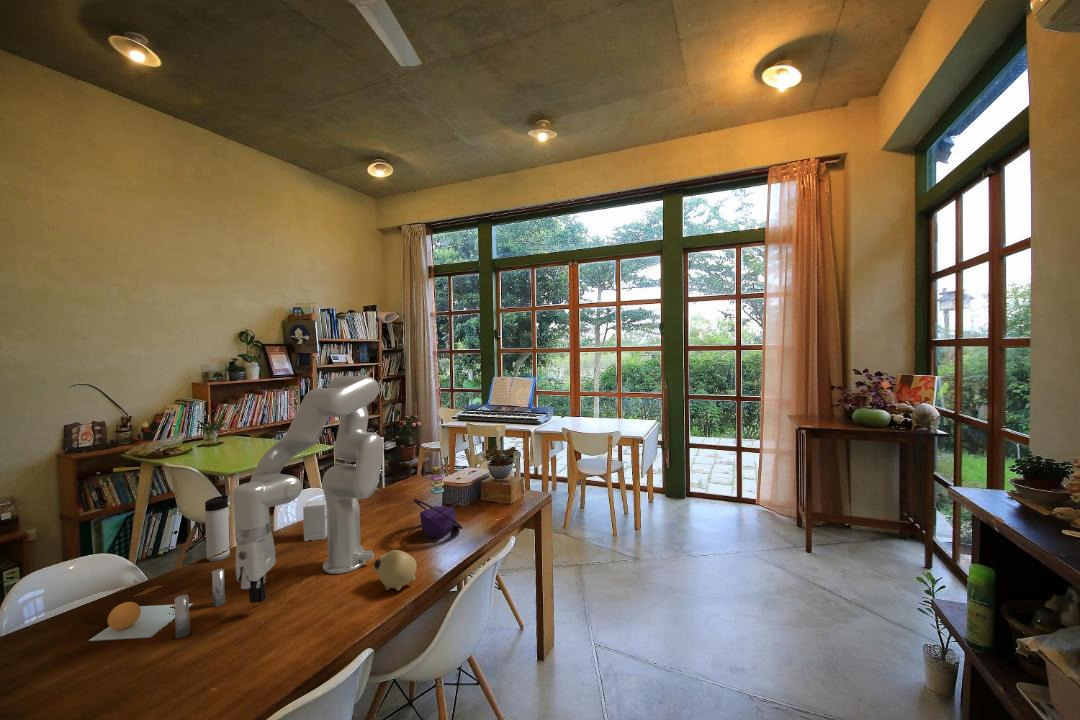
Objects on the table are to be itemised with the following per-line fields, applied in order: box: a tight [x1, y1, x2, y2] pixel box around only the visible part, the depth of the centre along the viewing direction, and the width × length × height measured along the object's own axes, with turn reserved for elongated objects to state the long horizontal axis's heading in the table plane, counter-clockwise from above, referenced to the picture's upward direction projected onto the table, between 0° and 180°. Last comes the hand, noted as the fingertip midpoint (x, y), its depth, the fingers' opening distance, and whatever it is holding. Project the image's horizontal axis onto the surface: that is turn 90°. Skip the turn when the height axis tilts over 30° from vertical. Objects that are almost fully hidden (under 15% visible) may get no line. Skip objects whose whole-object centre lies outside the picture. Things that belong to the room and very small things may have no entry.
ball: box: [107, 601, 141, 630], centre depth 109 cm, size 6×6×6 cm
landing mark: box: [88, 603, 193, 642], centre depth 112 cm, size 14×14×1 cm
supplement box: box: [302, 499, 327, 542], centre depth 163 cm, size 7×7×13 cm
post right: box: [211, 568, 226, 607], centre depth 119 cm, size 3×3×9 cm
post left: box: [174, 594, 191, 639], centre depth 106 cm, size 3×3×9 cm
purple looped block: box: [406, 466, 467, 539], centre depth 161 cm, size 22×21×25 cm
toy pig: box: [373, 549, 417, 591], centre depth 126 cm, size 10×12×11 cm
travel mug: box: [204, 494, 231, 562], centre depth 147 cm, size 6×7×20 cm
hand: (257, 600), depth 114 cm, fingers closed
